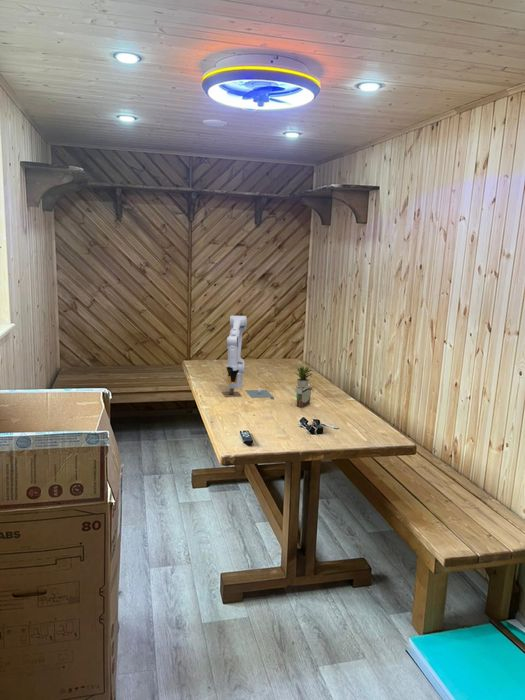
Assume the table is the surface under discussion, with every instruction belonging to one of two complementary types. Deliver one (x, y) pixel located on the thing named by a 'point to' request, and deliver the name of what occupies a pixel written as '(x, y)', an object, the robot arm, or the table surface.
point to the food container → (303, 396)
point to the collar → (230, 380)
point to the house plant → (303, 375)
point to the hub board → (263, 394)
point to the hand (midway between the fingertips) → (232, 380)
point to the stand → (231, 393)
